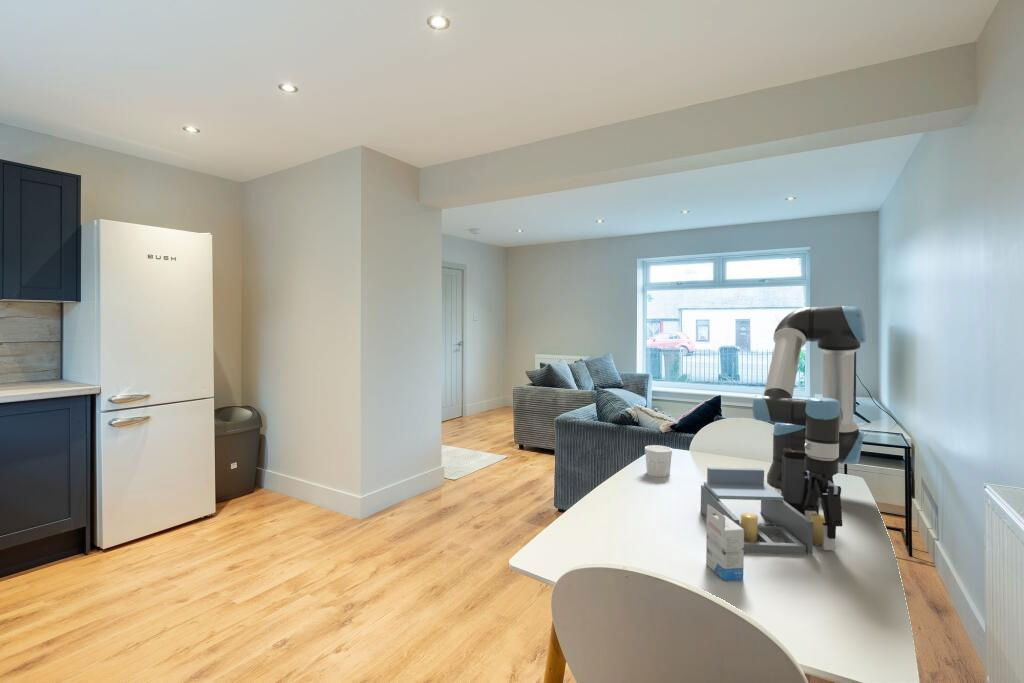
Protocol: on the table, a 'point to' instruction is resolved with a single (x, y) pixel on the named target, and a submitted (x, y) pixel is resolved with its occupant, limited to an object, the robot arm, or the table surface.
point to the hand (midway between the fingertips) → (819, 541)
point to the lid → (739, 484)
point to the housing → (786, 522)
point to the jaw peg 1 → (749, 527)
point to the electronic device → (793, 478)
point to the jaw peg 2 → (817, 528)
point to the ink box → (724, 546)
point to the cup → (658, 460)
